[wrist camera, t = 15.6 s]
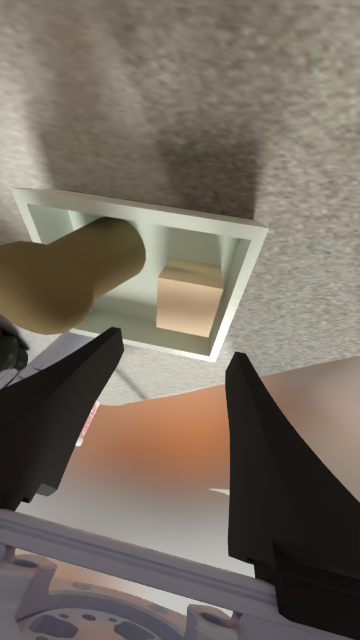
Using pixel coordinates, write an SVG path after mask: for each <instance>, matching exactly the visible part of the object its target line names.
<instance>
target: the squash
mask: <svg viewBox="0 0 360 640" xmlns="http://www.w3.org/2000/svg"><path fill="white" fill-rule="evenodd" d="M27 362H28V354H27V353H26V351H25V350H24V349H23V348H22V347H21V346H19V341H18V340H17V338H15V337H14V336H11V335H3V330H2V329H1V328H0V372H2V371H3V370H11V369H16V370H17V371H18V372H19V371H20V370H22V369H24V368H25V367H26V366H27Z"/></svg>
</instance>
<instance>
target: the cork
mask: <svg viewBox="0 0 360 640" xmlns="http://www.w3.org/2000/svg"><path fill="white" fill-rule="evenodd" d="M145 261H146V250H145V246H144V243H143V240H142V238H141V237H140V235H139V233H138V232H137V230H136V229H135V228H134V227H133V226H132V225H131V224H130V223H129V222H127V221H125V220H123V219H119V218H113V217H107V216H104V217H101V218H98V219H96V220H94V221H92V222H90V223H89V224H87V225H85V226H83V227H81V228H79V229H77V230H75V231H73V232H71V233H69V234H67V235H65V236H63V237H61V238H59V239H57V240H55V241H53V242H51V243H49V244H47V245H46V244H41V243H35V242H23V241H19V242H15V243H10V244H6V245H2V246H0V314H1V315H2V316H3V317H5V318H6V319H7V320H9V321H10V322H12V323H14V324H16V325H17V326H19V327H21V328H24V329H26V330H29V331H31V332H35V333H39V334H44V335H51V334H59V333H64V332H66V331H68V330H70V329H72V328H74V327H76V326H78V325H79V324H80V323H81V322H82V321H83V320H84V319H85V318H86V317H87V315H88V314H89V312H90V310H91V308H92V306H93V301H94V300H95V299H97V298H99V297H100V296H102V295H104V294H105V293H107V292H109V291H110V290H112V289H114V288H116V287H117V286H119V285H121V284H122V283H124V282H126V281H127V280H129V279H131V278H132V277H134V276H136V275H138V274H139V273H140V272H141V270H142V269H143V267H144V264H145Z"/></svg>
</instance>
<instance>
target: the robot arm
mask: <svg viewBox="0 0 360 640" xmlns="http://www.w3.org/2000/svg"><path fill="white" fill-rule="evenodd" d="M123 352H124V346H123V339H122V332H121V328H116V327H110V328H109V329H107V330H106V331H104V332H103V333H101V334H100V335H98V336H97V337H96V338H94V337H89V336H84V335H80V334H75V333H70V332H69V330H68V331H66V332H64V333H62V334H61V335H60V336H59V337H58V338H57V339H56V340H55V341H54V342H52V343H51V344H50V345H49V346H48V347H47V348H46V349H45V350H44V351H42V352H41V353H40V354H39V355H38V356H37V357H36V358H35V359H34V360H33V361H31V362H30V363H29V364H28V365H27V366H26V367H25V368H24V369H22V370H20V371H19V372H18V371H17V370H16V369H11V370H3V371H2V372H0V640H360V502H359V501H357V499H356V498H354V496H353V495H352V494H351V493H350V492H349V491H348V490H347V489H346V488H345V487H344V486H343V485H342V484H341V482H340V481H339V480H338V479H337V478H336V477H335V476H334V475H333V474H332V473H331V472H330V470H329V469H328V468H327V467H326V466H325V465H324V464H323V463H322V461H321V460H320V459H319V458H318V457H317V455H316V454H315V453H314V452H313V451H312V450H311V448H310V447H309V446H308V445H307V444H306V443H305V441H304V440H303V439H302V438H301V437H300V435H299V434H298V433H297V431H296V430H295V429H294V428H293V426H292V425H291V424H290V423H289V421H288V420H287V418H286V417H285V416H284V414H283V413H282V412H281V410H280V409H279V407H278V406H277V404H276V403H275V401H274V400H273V398H272V397H271V395H270V394H269V392H268V391H267V389H266V388H265V386H264V384H263V383H262V381H261V379H260V378H259V376H258V374H257V372H256V371H255V369H254V367H253V365H252V364H251V362H250V360H249V358H248V357H247V355H246V354H245V353H240V352H235V354H234V356H233V358H232V360H231V362H230V364H229V366H228V368H227V370H226V376H225V389H226V400H227V409H228V418H229V429H230V502H229V527H228V554H229V556H230V557H233V558H236V559H238V560H241V561H243V562H246V563H250V564H253V565H254V570H255V578H253V577H249V576H245V575H242V574H238V573H235V572H231V571H228V570H224V569H220V568H216V567H213V566H210V565H206V564H202V563H199V562H195V561H192V560H188V559H184V558H180V557H177V556H173V555H170V554H166V553H163V552H159V551H155V550H152V549H148V548H145V547H141V546H137V545H134V544H130V543H127V542H123V541H119V540H116V539H112V538H108V537H105V536H101V535H98V534H94V533H91V532H87V531H83V530H80V529H76V528H72V527H69V526H65V525H62V524H58V523H54V522H51V521H47V520H44V519H40V518H36V517H33V516H29V515H26V514H22V513H18V512H15V510H16V509H17V507H18V506H19V504H20V502H21V501H22V502H26V503H30V502H31V500H32V499H33V497H34V495H35V493H37V494H40V495H44V496H49V495H51V494H52V493H54V492H55V491H56V490H57V489H58V487H59V484H60V482H61V479H62V477H63V474H64V472H65V469H66V466H67V464H68V462H69V459H70V457H71V454H72V452H73V450H74V447H75V445H76V443H77V440H78V438H79V436H80V434H81V432H82V429H83V427H84V425H85V423H86V421H87V419H88V416H89V414H90V412H91V410H92V408H93V406H94V404H95V402H96V400H97V399H98V397H99V395H100V393H101V392H102V390H103V388H104V387H105V385H106V384H107V382H108V380H109V379H110V377H111V375H112V374H113V372H114V370H115V368H116V367H117V365H118V363H119V361H120V359H121V356H122V354H123ZM16 548H19V549H22V550H25V551H29V552H32V553H36V554H39V555H35V554H23V555H22V554H21V555H15V549H16ZM40 555H43V556H46V557H50V558H53V559H56V560H60V561H63V562H67V563H70V564H74V565H77V566H81V567H84V568H87V569H91V570H94V571H98V572H101V573H104V574H108V575H112V576H115V577H118V578H122V579H125V580H129V581H132V582H136V583H139V584H142V585H146V586H149V587H153V588H156V589H160V590H163V591H167V592H170V593H173V594H177V595H180V596H184V597H187V598H191V599H194V600H197V601H201V602H205V603H208V604H211V605H215V606H218V607H222V608H225V609H228V610H232V611H233V615H232V617H231V618H230V617H229V616H228V615H226V614H225V613H224V612H222V611H221V610H219V609H217V608H214V607H211V606H205V605H194V604H189V606H188V607H187V616H185V615H182V614H180V613H177V612H175V611H173V610H170V609H168V608H165V607H162V606H160V605H157V604H155V603H153V602H150V601H148V600H145V599H142V598H140V597H137V596H134V595H131V594H128V593H124V592H121V591H118V590H114V589H110V588H106V587H102V586H97V585H93V584H87V583H82V582H77V581H72V580H66V579H62V578H57V577H53V576H54V573H55V571H56V568H57V565H56V564H55V563H53V562H52V561H50V560H49V559H47V558H45V557H43V556H40Z"/></svg>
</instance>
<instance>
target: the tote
mask: <svg viewBox="0 0 360 640" xmlns="http://www.w3.org/2000/svg"><path fill="white" fill-rule="evenodd" d="M10 188H11V190H12V193H13V195H14V198H15V200H16V203H17V205H18V207H19V210H20V212H21V215H22V217H23V220H24V222H25V224H26V227H27V229H28V232H29V234H30V237H31V239H32V242H35V243H41V244H46V245H47V244H49V243H51V242H53V241H55V240H57V239H59V238H61V237H63V236H65V235H67V234H69V233H71V232H73V231H75V230H77V229H79V228H81V227H83V226H85V225H87V224H89V223H90V222H92V221H94V220H96V219H98V218H101V217H104V216H107V217H113V218H119V219H123V220H125V221H127V222H129V223H130V224H131V225H132V226H133V227H134V228H135V229H136V230H137V232H138V233H139V235H140V237H141V238H142V240H143V243H144V246H145V250H146V261H145V264H144V267H143V269H142V270H141V272H140V273H139V274H138V275H136V276H134V277H132V278H131V279H129V280H127V281H126V282H124V283H122V284H121V285H119V286H117V287H116V288H114V289H112V290H110V291H109V292H107V293H105V294H104V295H102V296H100V297H99V298H97V299H95V300H94V301H93V306H92V308H91V310H90V312H89V314H88V315H87V317H86V318H85V319H84V320H83V321H82V322H81V323H80V324H79V325H78V326H76V327H74V328H72V329H70V330H69V332H70V333H75V334H80V335H84V336H89V337H94V338H96V337H97V336H98V335H100V334H101V333H103V332H104V331H106V330H107V329H109V328H110V327H116V328H121V332H122V339H123V344H128V345H133V346H137V347H142V348H147V349H152V350H157V351H162V352H166V353H171V354H176V355H181V356H186V357H191V358H195V359H200V360H205V361H210V362H215V361H216V359H217V356H218V354H219V351H220V349H221V346H222V344H223V341H224V339H225V336H226V334H227V331H228V329H229V326H230V324H231V322H232V319H233V317H234V314H235V312H236V309H237V307H238V304H239V302H240V299H241V297H242V294H243V292H244V289H245V287H246V284H247V282H248V279H249V277H250V274H251V272H252V270H253V267H254V265H255V262H256V260H257V257H258V255H259V252H260V250H261V247H262V245H263V242H264V240H265V237H266V235H267V232H268V230H269V228H268V227H266V226H264V225H262V224H260V223H259V222H257V221H255V220H252V219H246V218H240V217H233V216H227V215H220V214H214V213H207V212H201V211H195V210H188V209H182V208H175V207H169V206H163V205H156V204H150V203H143V202H137V201H130V200H124V199H118V198H111V197H105V196H98V195H92V194H86V193H79V192H73V191H66V190H53V189H32V188H12V187H10ZM171 258H174V259H180V260H186V261H192V262H198V263H203V264H209V265H215V266H221V272H222V281H223V292H222V296H221V299H220V302H219V305H218V308H217V312H216V315H215V318H214V321H213V324H212V328H211V331H210V334H209V337H204V336H199V335H194V334H189V333H183V332H178V331H173V330H168V329H163V328H158V327H156V317H157V287H158V276H159V275H160V273H161V272H162V271H163V269H164V268H165V266H166V265H167V263H168V262H169V260H170V259H171Z"/></svg>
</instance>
